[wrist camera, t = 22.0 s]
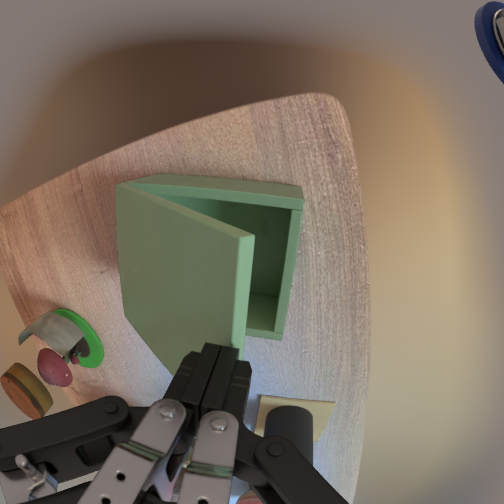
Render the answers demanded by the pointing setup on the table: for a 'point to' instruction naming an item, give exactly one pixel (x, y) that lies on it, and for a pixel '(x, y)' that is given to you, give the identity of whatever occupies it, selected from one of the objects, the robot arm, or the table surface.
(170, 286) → the box lid
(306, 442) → the dark grey cylinder
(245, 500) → the vase
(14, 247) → the table surface
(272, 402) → the mat
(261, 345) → the table surface
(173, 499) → the travel mug
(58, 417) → the robot arm
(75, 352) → the mushroom figurine
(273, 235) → the green open box
